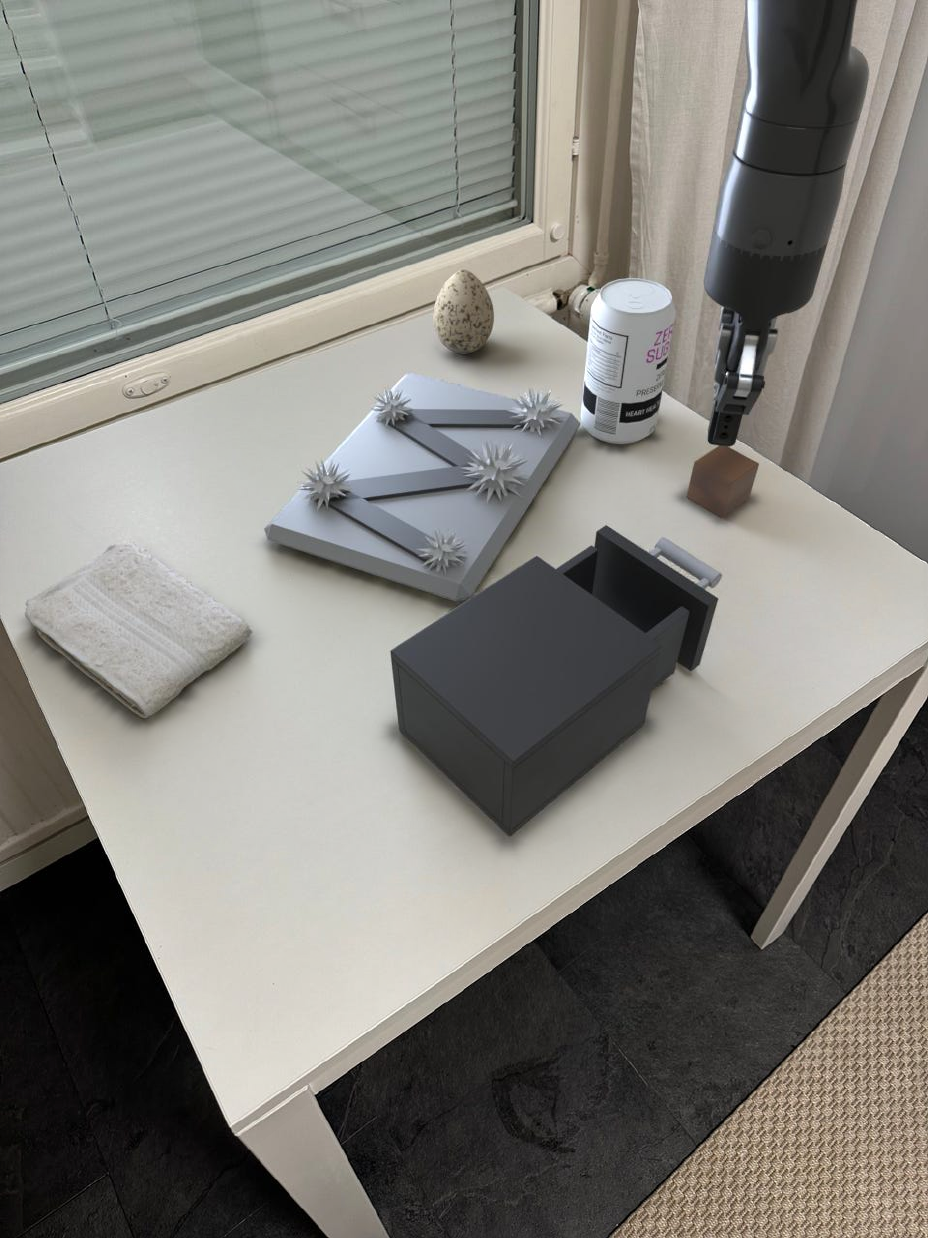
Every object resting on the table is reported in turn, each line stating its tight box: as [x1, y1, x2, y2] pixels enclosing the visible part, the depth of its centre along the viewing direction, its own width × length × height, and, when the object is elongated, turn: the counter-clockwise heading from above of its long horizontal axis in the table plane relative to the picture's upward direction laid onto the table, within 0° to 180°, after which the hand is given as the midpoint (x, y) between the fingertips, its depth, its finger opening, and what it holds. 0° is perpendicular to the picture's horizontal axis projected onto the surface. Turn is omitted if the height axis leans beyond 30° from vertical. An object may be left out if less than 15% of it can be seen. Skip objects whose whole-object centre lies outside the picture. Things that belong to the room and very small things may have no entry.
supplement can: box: [580, 277, 677, 445], centre depth 92 cm, size 8×8×15 cm
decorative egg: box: [432, 269, 495, 355], centre depth 104 cm, size 7×7×10 cm
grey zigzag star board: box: [263, 372, 581, 603], centre depth 88 cm, size 30×22×7 cm
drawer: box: [555, 524, 723, 692], centre depth 71 cm, size 18×11×8 cm, turn 132°
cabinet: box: [389, 555, 662, 837], centre depth 66 cm, size 15×13×10 cm
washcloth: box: [24, 540, 253, 719], centre depth 76 cm, size 12×18×3 cm, turn 52°
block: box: [686, 445, 760, 519], centre depth 87 cm, size 4×4×4 cm
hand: (720, 439), depth 72 cm, fingers closed
